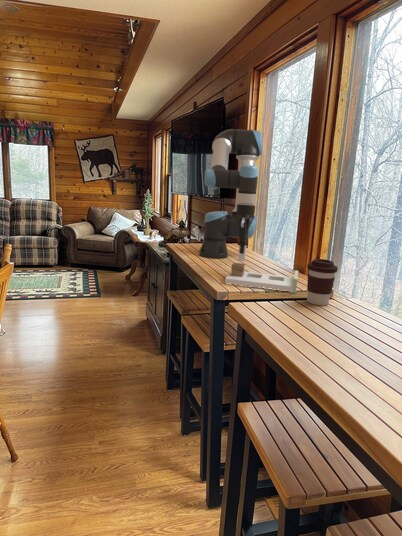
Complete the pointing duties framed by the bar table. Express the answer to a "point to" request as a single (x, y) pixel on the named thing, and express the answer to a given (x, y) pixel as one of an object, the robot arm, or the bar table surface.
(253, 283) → the board
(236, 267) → the block
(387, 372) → the bar table surface
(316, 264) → the coffee cup
